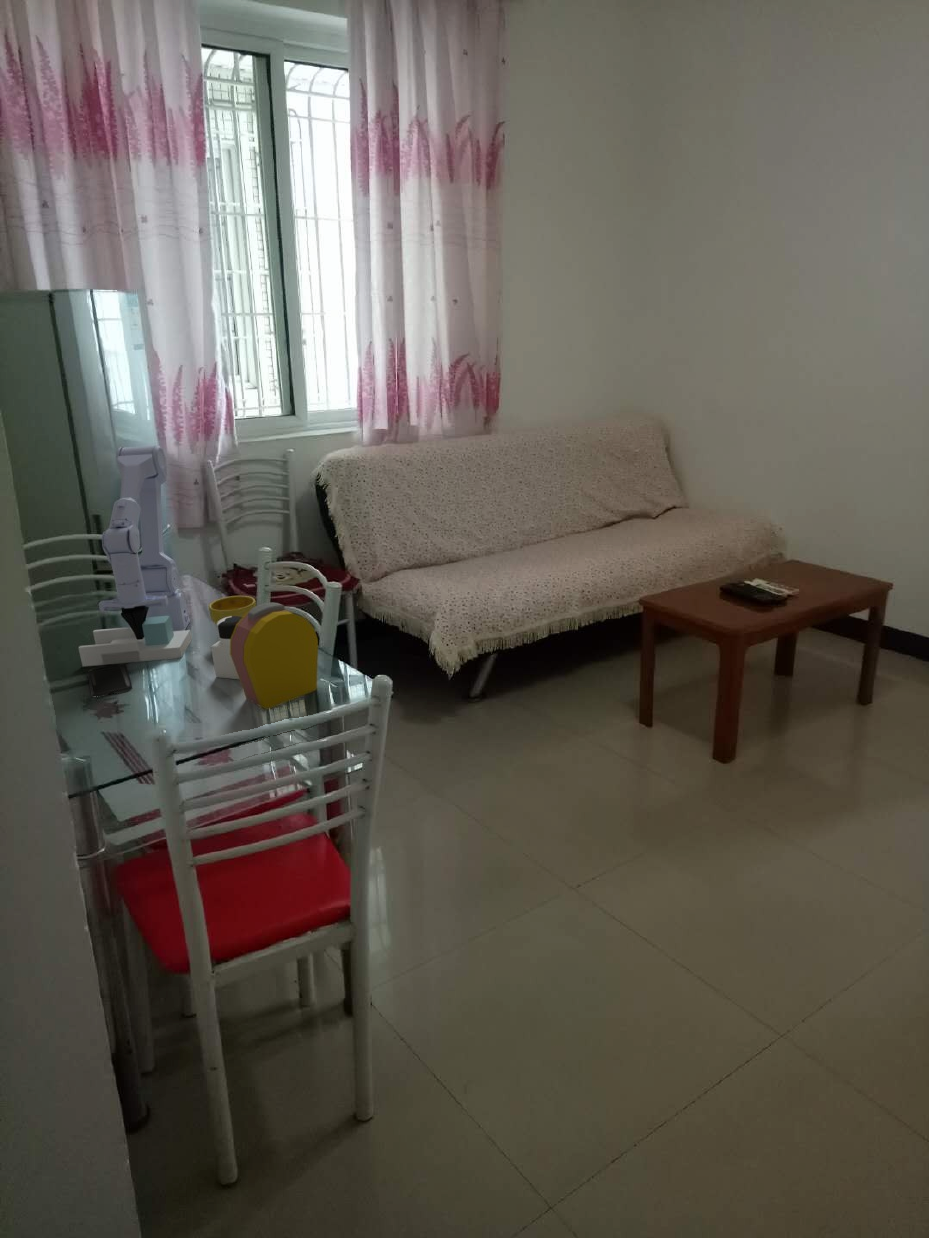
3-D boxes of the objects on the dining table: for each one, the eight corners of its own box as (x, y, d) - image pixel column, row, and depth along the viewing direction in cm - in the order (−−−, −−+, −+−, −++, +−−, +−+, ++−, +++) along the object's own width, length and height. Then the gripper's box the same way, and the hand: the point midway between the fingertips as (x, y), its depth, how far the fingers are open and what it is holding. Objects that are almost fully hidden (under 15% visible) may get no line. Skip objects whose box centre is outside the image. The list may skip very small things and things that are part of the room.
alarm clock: (301, 676, 174) (289, 591, 168) (323, 686, 169) (312, 600, 162) (236, 700, 165) (221, 612, 159) (258, 712, 159) (243, 621, 153)
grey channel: (191, 639, 198) (188, 621, 197) (181, 657, 188) (178, 638, 186) (98, 648, 197) (94, 630, 195) (82, 666, 186) (78, 647, 185)
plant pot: (263, 646, 192) (257, 605, 188) (216, 654, 189) (209, 612, 185) (259, 631, 201) (253, 592, 198) (214, 638, 198) (207, 599, 195)
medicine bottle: (263, 666, 180) (255, 614, 176) (244, 680, 174) (235, 626, 170) (234, 664, 182) (226, 612, 178) (215, 677, 176) (206, 624, 172)
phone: (124, 662, 185) (132, 686, 173) (125, 667, 186) (133, 691, 173) (86, 670, 182) (90, 695, 169) (87, 675, 183) (92, 700, 170)
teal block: (174, 635, 194) (170, 615, 192) (168, 643, 190) (164, 622, 188) (151, 637, 194) (147, 617, 192) (146, 645, 189) (142, 624, 187)
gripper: (89, 589, 182) (102, 647, 187) (158, 583, 183) (169, 641, 188) (99, 579, 189) (112, 636, 194) (165, 574, 190) (176, 630, 194)
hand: (140, 638), depth 191 cm, fingers closed
